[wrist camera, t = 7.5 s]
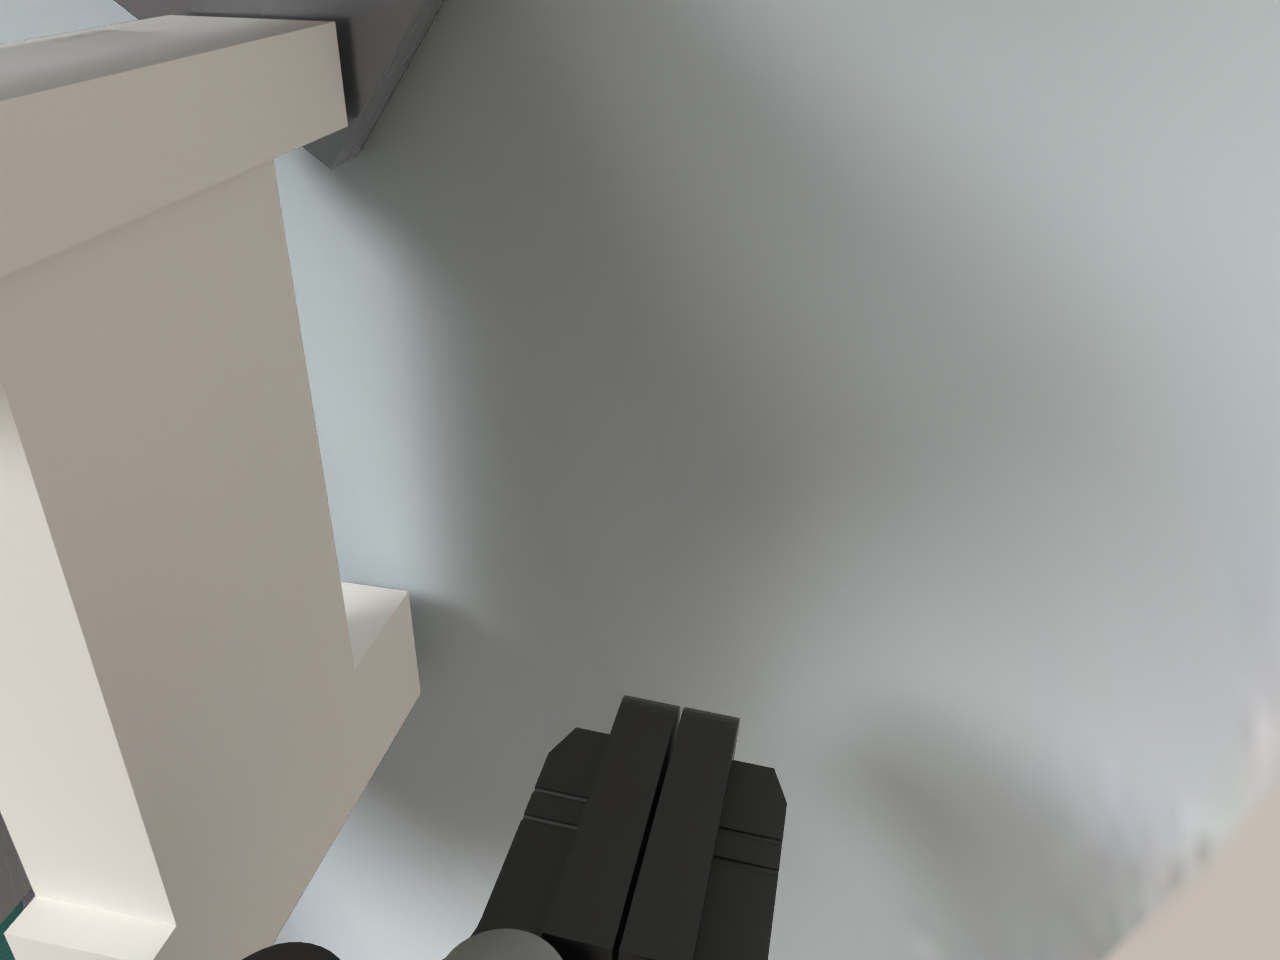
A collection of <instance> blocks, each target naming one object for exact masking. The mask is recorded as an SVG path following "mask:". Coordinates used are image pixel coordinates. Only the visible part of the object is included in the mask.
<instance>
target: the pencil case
mask: <svg viewBox="0 0 1280 960" xmlns="http://www.w3.org/2000/svg"><path fill="white" fill-rule="evenodd" d="M22 911H23V903H22V900H21V901H20V902H19V904H18V905H17V906H16V907H15V908H14V909H13V911H12V912H11V913H10V914H9V915H8V916H7V917H6V919H5V920H4V921H3V922H2V923H1V924H0V960H15V957H14V955H13V953H12V951H11V948H10V946H9V944H8V942H7V940H6V937H5V935H4V932H5V931H6V930H7V929H8V928H9V927H10V925H11V924H12V923H13V922H14V921H15V920H16V918H17V917H18V916H19V915H20V914H21V913H22Z"/></svg>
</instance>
